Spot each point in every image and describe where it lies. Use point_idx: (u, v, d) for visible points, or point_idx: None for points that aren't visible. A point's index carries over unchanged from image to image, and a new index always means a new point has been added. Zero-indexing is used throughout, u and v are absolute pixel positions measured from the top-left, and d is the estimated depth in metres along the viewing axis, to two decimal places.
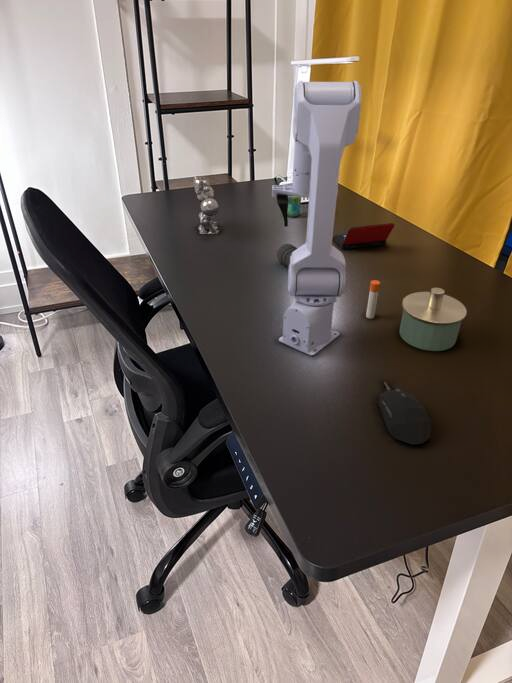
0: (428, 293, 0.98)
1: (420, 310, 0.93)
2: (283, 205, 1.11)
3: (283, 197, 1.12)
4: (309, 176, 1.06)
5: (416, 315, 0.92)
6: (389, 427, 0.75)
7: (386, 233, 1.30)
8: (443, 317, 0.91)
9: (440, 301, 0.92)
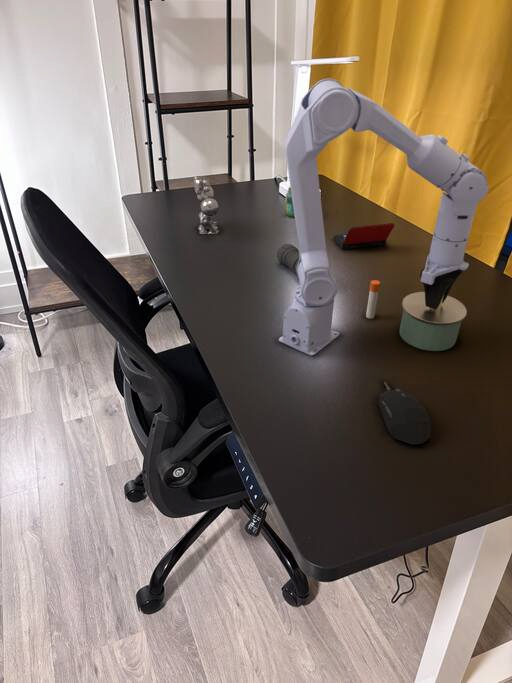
0: None
1: (420, 310, 0.93)
2: None
3: None
4: (433, 234, 0.88)
5: (416, 315, 0.92)
6: (389, 427, 0.75)
7: (386, 233, 1.30)
8: (443, 317, 0.91)
9: None
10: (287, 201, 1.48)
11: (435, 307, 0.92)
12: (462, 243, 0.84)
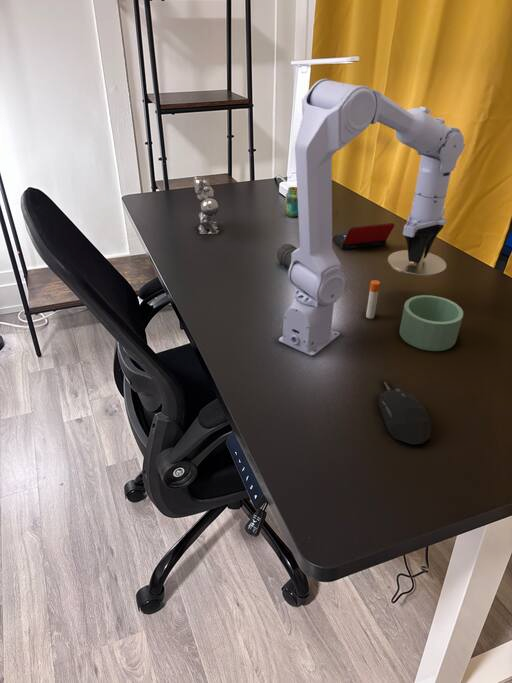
0: None
1: (404, 264, 1.02)
2: None
3: None
4: None
5: (400, 268, 1.00)
6: (389, 427, 0.75)
7: (386, 233, 1.30)
8: (424, 270, 0.99)
9: (422, 256, 1.01)
10: (287, 201, 1.48)
11: (417, 261, 1.01)
12: (440, 199, 0.93)
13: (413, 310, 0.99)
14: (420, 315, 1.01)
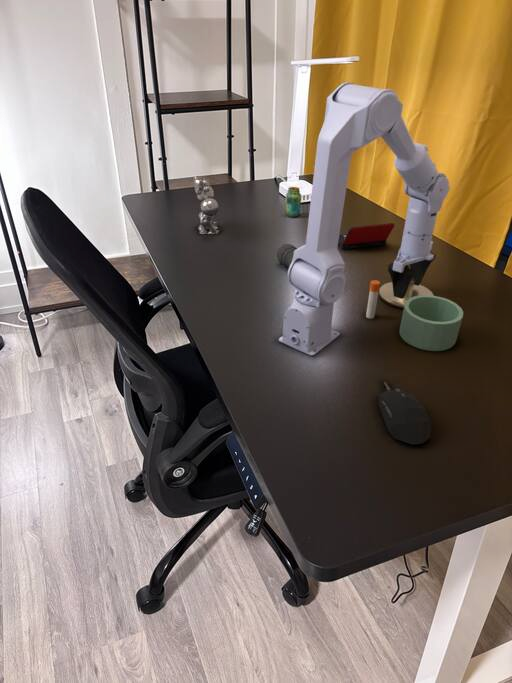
0: None
1: (394, 296, 1.08)
2: None
3: None
4: None
5: (390, 300, 1.07)
6: (389, 427, 0.75)
7: (386, 233, 1.30)
8: None
9: (411, 288, 1.08)
10: (287, 201, 1.48)
11: (401, 297, 1.06)
12: (427, 237, 0.99)
13: (413, 310, 0.99)
14: (420, 315, 1.01)
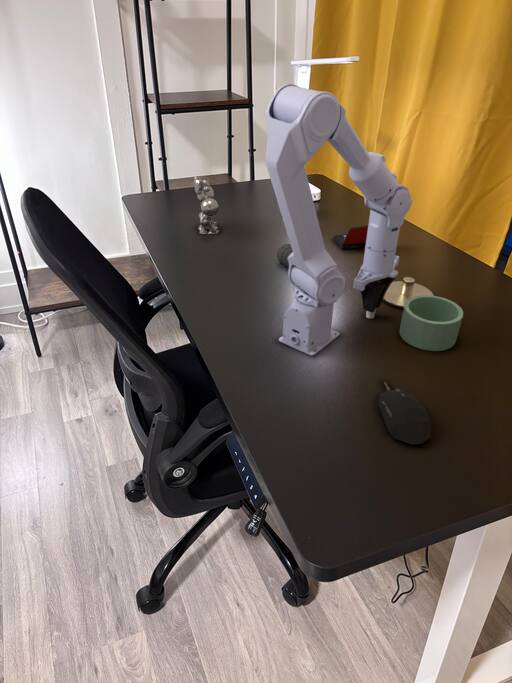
0: (402, 282, 1.14)
1: (394, 296, 1.08)
2: None
3: None
4: None
5: (390, 300, 1.07)
6: (389, 427, 0.75)
7: None
8: None
9: (411, 288, 1.08)
10: None
11: (371, 310, 1.01)
12: (390, 253, 0.93)
13: (413, 310, 0.99)
14: (420, 315, 1.01)
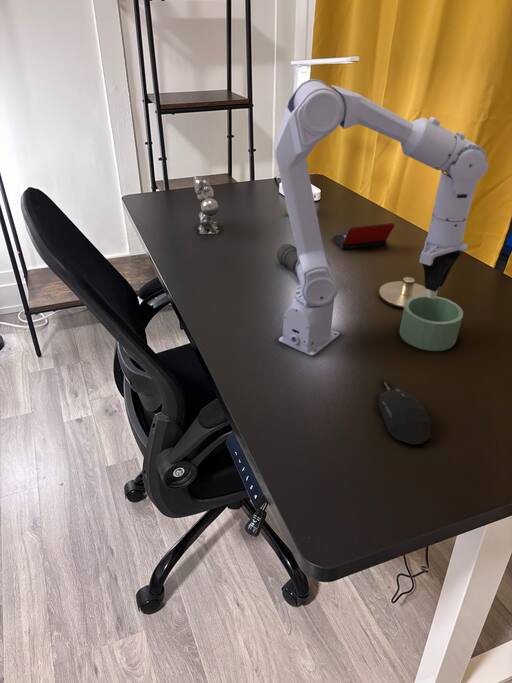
0: (402, 282, 1.14)
1: (394, 296, 1.08)
2: None
3: None
4: (432, 215, 0.86)
5: (390, 300, 1.07)
6: (389, 427, 0.75)
7: (386, 233, 1.30)
8: None
9: (411, 288, 1.08)
10: None
11: (435, 289, 0.91)
12: (461, 223, 0.83)
13: (413, 310, 0.99)
14: (420, 315, 1.01)
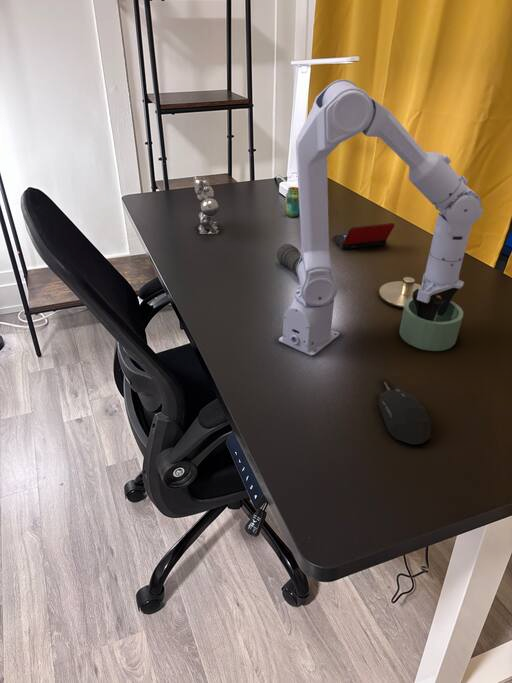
0: (402, 282, 1.14)
1: (394, 296, 1.08)
2: None
3: None
4: (429, 253, 0.90)
5: (390, 300, 1.07)
6: (389, 427, 0.75)
7: (386, 233, 1.30)
8: None
9: (411, 288, 1.08)
10: (287, 201, 1.48)
11: None
12: (457, 262, 0.86)
13: (413, 310, 0.99)
14: None
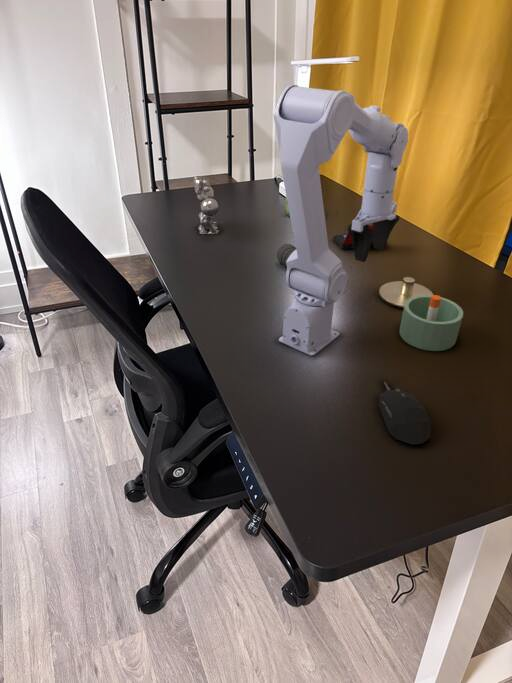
0: (402, 282, 1.14)
1: (394, 296, 1.08)
2: None
3: None
4: None
5: (390, 300, 1.07)
6: (389, 427, 0.75)
7: None
8: None
9: (411, 288, 1.08)
10: None
11: (363, 260, 1.01)
12: (387, 194, 0.95)
13: (413, 310, 0.99)
14: (420, 315, 1.01)
